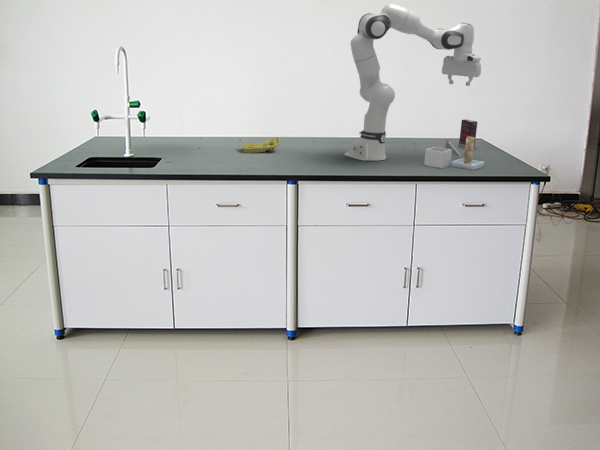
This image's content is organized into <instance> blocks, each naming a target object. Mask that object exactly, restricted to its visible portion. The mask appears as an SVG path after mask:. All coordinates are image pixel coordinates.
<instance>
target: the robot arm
mask: <svg viewBox="0 0 600 450" xmlns="http://www.w3.org/2000/svg"><path fill="white" fill-rule="evenodd" d="M390 29H393V30H395V31H398V32H400V33H402V34H406V35H415V36H417V37H419V38H422V39H423V40H426V41H427V42H429V43H430V45H431V46H432V47H433V48H434V49H436V50H447V51H450V50H453V55H445V56H444V58H443V60H442V61H443V62H442V67H441V74H442V75H446V76H447V79H448V80H449V82H448V84H449V85H453V84H454V80H453V79H452V77H453V76H459V77H468V81H466V82H465V86H466V87H470V85H471V82H472V81H473V80H474V78H479V77H480V76H481V72H482V64H481V60H482V59H481V56H478V55H477V54H474V53H473V44H474V40H475V39H474V37H475V28H474V26H473V25H472V24H471V23H467V22H459V23H458V24H457V25H454V26H453V27H451V28H449V29H447V28H446V29H444V28H433V27H431V26H429V25H427V24H424V23H422V21H421V18H420V15H419V14H418V13H416V12H415V11H413V10H412V9H410V8H407V7H405V6H402V5H399V4H396V3H387V4H385V5H384V6H383V8H382V9H381V11H380V13H378V14H376V13H372V12H371V13H370V12H369V13H366V14H363V15H362V16H361V17H360V19H359V21H358V26H357V34H356V35H355V36H354V37H352V38H351V40H350V48H351V53H352V57H353V61H354V64H355V68H356V70H357V74H358V76H359V78H358V79H359V84H360V87H359V95H360V97H361V98H362V99H363V100H364V101H366V102H367V103H369V105H368V108H367V111H366V113H365V114H364V117H363V118H364V120H363V121H364V122H363V130H362V131H359V132H358V133H359V136H360V137H358V138H357V139H356V140H354V141H352V142H351V143H350V144H349V148H348V151H347V152H345V153H344V156H345V157H349V158H352V159H356V160H360V161H364V162H365V161H378V162H379V161H384V160H387V155H386V149H385V148H386V146H385V145H386V144H385V142H386V136H387V133H386V123H387V115H388V112H389V108H390V106H391V104H392V103H393V101H394V100H395V97H396V93H395V90H394V88H393V87H391V86H390V85H389V84H386V83H383V82H381V77H380V70H381V65H380V63H379V59H378V57H377V54H376V50H375V48H374V40H380V39H382V38H383V37H384V36H385V35H387V32H388V31H390Z"/></svg>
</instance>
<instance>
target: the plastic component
mask: <svg viewBox="0 0 600 450" xmlns="http://www.w3.org/2000/svg"><path fill="white" fill-rule="evenodd" d="M241 140H242V150H243V152H244V153H245V154H253V153H255V154H256V153H266V151H267V150H268V152H274V151H275V149H276V148H277V147H279V145H280V137H276V138H275V139H268V140H265V142H258V143H255V142H254V143H245V142H244V141H245V140H244V139H241Z"/></svg>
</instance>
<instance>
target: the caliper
mask: <svg viewBox="0 0 600 450" xmlns="http://www.w3.org/2000/svg"><path fill="white" fill-rule="evenodd" d="M444 148H445V149H451V150H452V152H454V154H456V155H457V156H459V157H462V155H461V153H460V151H458V149H456V148H455V147H454V146H453V144H452V143H451V141H450V139H449V138H446V140H445V144H444Z"/></svg>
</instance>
